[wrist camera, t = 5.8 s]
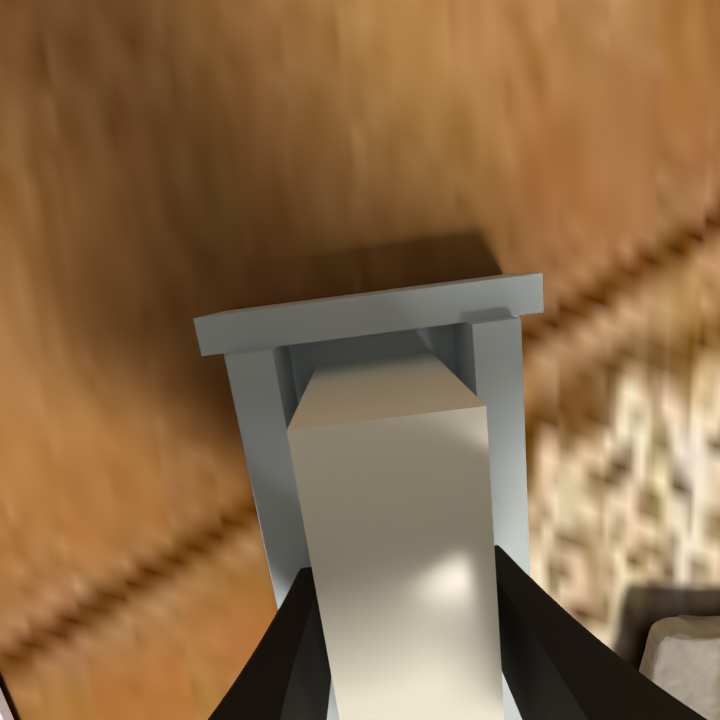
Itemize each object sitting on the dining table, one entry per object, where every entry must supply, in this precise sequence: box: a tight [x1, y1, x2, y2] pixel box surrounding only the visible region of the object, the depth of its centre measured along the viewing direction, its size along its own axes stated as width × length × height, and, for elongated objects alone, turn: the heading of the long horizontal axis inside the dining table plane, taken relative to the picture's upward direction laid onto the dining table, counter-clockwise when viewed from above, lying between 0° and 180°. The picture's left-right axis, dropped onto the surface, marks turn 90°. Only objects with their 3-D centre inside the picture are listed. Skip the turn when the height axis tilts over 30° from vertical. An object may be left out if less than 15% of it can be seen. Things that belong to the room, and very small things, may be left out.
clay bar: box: [287, 351, 504, 720], centre depth 10 cm, size 12×4×5 cm, turn 7°
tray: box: [193, 273, 543, 720], centre depth 12 cm, size 9×16×3 cm, turn 7°
